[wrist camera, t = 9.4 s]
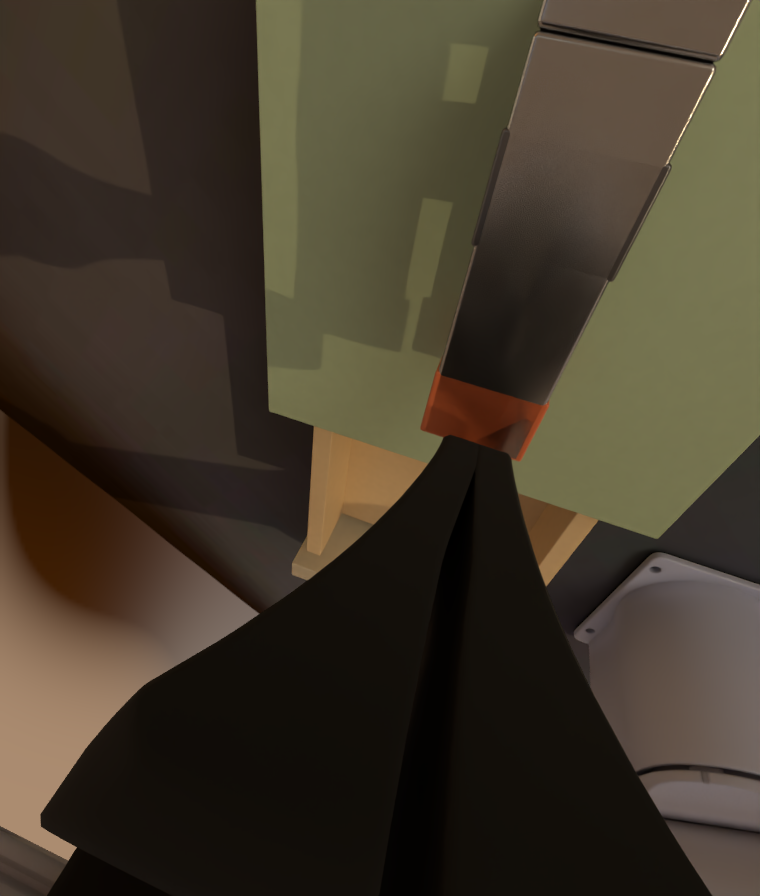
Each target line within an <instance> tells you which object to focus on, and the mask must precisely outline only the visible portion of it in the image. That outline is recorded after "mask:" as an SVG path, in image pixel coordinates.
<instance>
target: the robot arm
mask: <svg viewBox="0 0 760 896" xmlns="http://www.w3.org/2000/svg"><path fill="white" fill-rule="evenodd" d="M574 637H575V638H576V639H577V640H579V641H581V642H584V643H586V644H589V661H590V686H589V684H588V682H587V680H586V678H585V676H584V674H583V671H582V669H581V667H580V665H579V663H578V661H577V659H576V657H575V655H574V653H573V650H572V648H571V646H570V644H569V641H568V639H567V637H566V635H565V632H564V630H563V628H562V626H561V623H560V621H559V619H558V616H557V614H556V611H555V609H554V606H553V604H552V601H551V599H550V596H549V594H548V591H547V588H546V585H545V583H544V580H543V577H542V574H541V572H540V569H539V566H538V563H537V560H536V557H535V554H534V551H533V547H532V544H531V541H530V537H529V534H528V530H527V527H526V524H525V520H524V516H523V513H522V509H521V505H520V500H519V496H518V492H517V487H516V483H515V477H514V472H513V466H512V459H511V457H510V455H509V454H508V453H505V452H502V451H499V450H496V449H493V448H490V447H487V446H484V445H481V444H478V443H475V442H472V441H469V440H466V439H463V438H460V437H456V436H453V435H448V436H445V437H443V440H442V442H441V444H440V446H439V448H438V450H437V451H436V453H435V455H434V456H433V458H432V459H431V460H430V462H429V463H428V465H427V466H426V467H425V469H424V470H423V471H422V473H421V474H420V475H419V476H418V477H417V479H416V480H415V481H414V482H413V483H412V484H411V486H410V487H409V488H408V489H407V490H406V492H405V493H404V494H403V495H402V496H401V497H400V498H399V499H398V500H397V502H396V503H395V504H394V505H393V506H392V507H391V508H390V509H389V510H388V511H387V512H386V513H385V514H384V515H383V516H382V517H381V518H380V519H379V520H378V521H377V522H376V523H375V524H374V525H373V526H372V527H371V528H370V529H368V530H367V531H366V532H365V533H364V534H363V535H362V536H361V537H360V538H359V539H358V540H356V541H355V542H354V543H353V544H352V545H351V546H350V547H348V548H347V549H346V550H345V551H344V552H343V553H341V554H340V555H339V556H338V557H337V558H335V559H334V560H333V561H332V562H330V563H329V564H328V565H327V566H325V567H324V568H323V569H321V570H320V571H319V572H318V573H316V574H315V575H314V576H313V577H311V578H310V579H309V580H307V581H306V582H305V583H303V584H302V585H301V586H299V587H298V588H297V589H295V590H294V591H293V592H291V593H290V594H288V595H287V596H286V597H284V598H283V599H281V600H280V601H278V602H277V603H275V604H274V605H272V606H271V607H269V608H268V609H266V610H265V611H263V612H262V613H260V614H259V615H257V616H256V617H254V618H253V619H252V620H250V621H249V622H247V623H246V624H244V625H243V626H241V627H240V628H238V629H237V630H235V631H234V632H232V633H230V634H229V635H227V636H226V637H224V638H222V639H221V640H219V641H218V642H216V643H214V644H213V645H211V646H209V647H207V648H206V649H204V650H202V651H201V652H199V653H197V654H196V655H194V656H192V657H191V658H189V659H187V660H186V661H184V662H182V663H180V664H179V665H177V666H175V667H174V668H172V669H170V670H168V671H167V672H165V673H163V674H162V675H160V676H158V677H156V678H155V679H153V680H151V681H150V682H148V683H147V684H146V685H144V686H143V687H142V688H141V689H139V690H138V691H137V693H135V694H134V695H133V696H132V697H131V698H130V699H129V700H128V702H127V703H126V704H125V705H124V706H123V707H122V708H121V709H120V710H119V711H118V712H117V713H116V714H115V715H114V716H113V717H112V718H111V720H110V721H109V722H108V723H107V724H106V725H105V726H104V727H103V729H102V730H101V731H100V732H99V733H98V735H97V736H96V737H95V738H94V739H93V741H92V742H91V743H90V744H89V745H88V747H87V748H86V749H85V751H84V752H83V754H82V755H81V757H80V758H79V759H78V761H77V762H76V764H75V765H74V766H73V768H72V769H71V771H70V772H69V774H68V775H67V777H66V778H65V780H64V781H63V782H62V784H61V785H60V787H59V788H58V790H57V791H56V793H55V794H54V796H53V797H52V798H51V800H50V801H49V803H48V804H47V806H46V807H45V809H44V810H43V812H42V813H41V827H43V828H44V829H46V830H47V831H49V832H51V833H52V834H54V835H56V836H58V837H59V838H61V839H63V840H65V841H67V842H69V843H71V844H72V845H74V846H76V847H77V848H76V850H75V851H74V853H73V854H72V856H71V858H70V859H69V861H68V860H66V859H64V858H62V857H60V856H58V855H56V854H54V853H52V852H50V851H48V850H46V849H44V848H42V847H40V846H38V845H36V844H34V843H32V842H30V841H28V840H26V839H24V838H22V837H20V836H18V835H16V834H15V833H13V832H11V831H9V830H7V829H5V828H3V827H1V826H0V896H760V585H759V584H756V583H753V582H750V581H747V580H744V579H741V578H738V577H735V576H732V575H729V574H726V573H723V572H720V571H717V570H714V569H711V568H708V567H705V566H702V565H699V564H696V563H693V562H690V561H687V560H684V559H681V558H678V557H675V556H672V555H669V554H666V553H662V552H657V553H653V554H651V555H650V556H649V557H648V558H647V559H646V560H645V561H644V562H643V563H642V564H641V565H640V566H639V567H638V568H637V569H636V570H635V571H634V572H633V573H632V574H631V575H630V576H629V577H628V578H627V579H626V580H625V581H624V582H623V583H622V584H621V585H619V586H618V587H617V588H616V589H615V590H614V591H613V592H612V593H611V594H610V595H609V596H608V597H607V598H606V599H605V600H604V601H603V602H602V603H601V604H600V605H599V606H598V607H597V608H596V609H595V610H594V611H593V612H592V613H591V614H590V615H589V616H588V617H587V618H586V619H585V620H584V621H583V622H582V623H581V624H580V625H579V626H578V627H577V628H576V629H575V631H574ZM590 687H591V688H590Z"/></svg>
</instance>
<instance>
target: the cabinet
mask: <svg viewBox="0 0 760 896" xmlns="http://www.w3.org/2000/svg"><path fill="white" fill-rule="evenodd" d="M541 3H542V0H256V23H257V55H258V86H259V118H260V149H261V181H262V212H263V244H264V275H265V307H266V338H267V370H268V401H269V411H270V412H273V413H276V414H279V415H282V416H285V417H288V418H291V419H294V420H297V421H300V422H303V423H306V424H309V425H312V426H316V427H319V428H322V429H325V430H328V431H331V432H334V433H337V434H340V435H343V436H346V437H349V438H352V439H355V440H358V441H361V442H364V443H367V444H370V445H373V446H376V447H379V448H382V449H385V450H388V451H391V452H394V453H397V454H400V455H403V456H406V457H409V458H412V459H416V460H419V461H422V462H425V463H429V462H430V460H431V459H432V458H433V456H434V455H435V453H436V451H437V450H438V448H439V446H440V444H441V442H442V440H443V437H440V436H437V435H434V434H431V433H428V432H425V431H422V430H421V429H420V426H421V423H422V419H423V415H424V412H425V408H426V405H427V401H428V397H429V394H430V390H431V386H432V383H433V379H434V376H435V372H436V370H437V367H438V365H439V362H440V360H441V358H442V356H443V353H444V349H445V346H446V342H447V338H448V335H449V331H450V328H451V324H452V321H453V317H454V314H455V310H456V306H457V303H458V299H459V296H460V292H461V289H462V285H463V281H464V278H465V274H466V271H467V267H468V264H469V260H470V256H471V253H472V249H473V246H472V245H471V241H472V237H473V234H474V230H475V226H476V223H477V219H478V216H479V212H480V208H481V205H482V201H483V197H484V194H485V190H486V186H487V183H488V179H489V176H490V172H491V168H492V165H493V161H494V157H495V154H496V150H497V147H498V143H499V139H500V136H501V132H502V130H503V128H504V127H505V126H506V125H507V124H508V121H509V117H510V114H511V110H512V106H513V103H514V99H515V96H516V92H517V89H518V85H519V81H520V78H521V74H522V71H523V67H524V64H525V60H526V57H527V53H528V49H529V46H530V42H531V39H532V36H533V34H534V33H535V31H538V30H540V29H539V28H538V27H537V17H538V14H539V10H540V7H541ZM714 64H715V65H716V66H717V70H716V74H715V76H714V78H713V80H712V82H711V84H710V86H709V88H708V89H707V91H706V93H705V95H704V97H703V99H702V101H701V103H700V105H699V107H698V109H697V111H696V113H695V115H694V117H693V119H692V121H691V123H690V125H689V127H688V129H687V131H686V133H685V135H684V137H683V139H682V140H681V142H680V144H679V146H678V148H677V150H676V152H675V154H674V156H673V158H672V160H671V162H670V164H671V165H672V169H671V171H670V173H669V175H668V177H667V179H666V181H665V183H664V185H663V187H662V189H661V191H660V193H659V195H658V197H657V198H656V200H655V202H654V204H653V206H652V208H651V210H650V212H649V214H648V216H647V218H646V220H645V222H644V224H643V226H642V228H641V229H640V231H639V233H638V235H637V237H636V239H635V241H634V243H633V245H632V247H631V249H630V251H629V253H628V255H627V257H626V259H625V260H624V262H623V264H622V266H621V268H620V270H619V272H618V274H617V276H616V278H615V280H614V281H613V282H609V284H608V286H607V288H606V290H605V292H604V294H603V295H602V297H601V299H600V301H599V303H598V305H597V307H596V309H595V311H594V313H593V315H592V317H591V319H590V321H589V323H588V325H587V327H586V329H585V331H584V333H583V335H582V337H581V339H580V341H579V343H578V345H577V346H576V348H575V350H574V352H573V354H572V356H571V358H570V360H569V362H568V364H567V366H566V368H565V370H564V372H563V374H562V376H561V378H560V380H559V382H558V384H557V386H556V388H555V390H554V392H553V394H552V396H551V397H550V401H549V408H548V410H547V411H546V413H545V415H544V417H543V419H542V421H541V423H540V425H539V427H538V429H537V431H536V433H535V435H534V437H533V439H532V441H531V442H530V444H529V446H528V448H527V450H526V452H525V454H524V456H523V458H522V460H521V461H515V460H512V466H513V472H514V477H515V483H516V487H517V492H518V493H519V494H522V495H525V496H528V497H531V498H534V499H537V500H540V501H543V502H546V503H549V504H552V505H555V506H558V507H561V508H564V509H567V510H570V511H573V512H576V513H579V514H582V515H585V516H588V517H591V518H594V519H597V520H600V521H603V522H606V523H609V524H613V525H616V526H619V527H622V528H625V529H628V530H631V531H634V532H637V533H640V534H643V535H646V536H649V537H652V538H655V539H658V538H659V537H660V536H661V535H662V534H663V533H664V532H665V531H666V530H667V529H668V528H669V527H670V526H671V525H672V524H673V523H674V522H675V521H676V520H677V519H678V518H679V517H680V516H681V515H682V514H683V513H684V512H685V511H686V510H687V509H688V508H689V506H690V505H691V504H692V503H693V502H694V501H695V500H696V499H697V498H698V497H699V496H700V495H701V494H702V493H703V492H704V491H705V490H706V489H707V488H708V487H709V486H710V485H711V484H712V483H713V482H714V481H715V480H716V479H717V478H718V477H719V476H720V475H721V474H722V473H723V472H724V471H725V470H726V469H727V468H728V467H729V466H730V465H731V464H732V463H733V462H734V461H735V460H736V459H737V458H738V457H739V456H740V455H741V454H742V453H743V452H744V451H745V450H746V449H747V447H748V446H749V445H750V444H751V443H752V442H753V441H754V440H755V439H756V438H757V437H758V436H759V435H760V0H753V1H752V3H751V5H750V7H749V9H748V11H747V13H746V15H745V17H744V18H743V20H742V22H741V24H740V26H739V28H738V30H737V32H736V34H735V36H734V38H733V40H732V42H731V44H730V46H729V48H728V50H727V52H726V54H725V55H724V56H723V58H722V59H721V60H720V61H718V62H714Z"/></svg>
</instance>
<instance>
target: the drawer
mask: <svg viewBox="0 0 760 896" xmlns="http://www.w3.org/2000/svg"><path fill="white" fill-rule="evenodd" d="M427 465H428V463H425V462H422V461H419V460H416V459H412V458H409V457H406V456H403V455H400V454H397V453H394V452H391V451H388V450H385V449H382V448H379V447H376V446H373V445H370V444H367V443H364V442H361V441H358V440H355V439H352V438H349V437H346V436H343V435H340V434H337V433H334V432H331V431H328V430H325V429H322V428H319V427H316V426H314V431H313V448H312V465H311V482H310V499H309V516H308V533H307V537H306V539H305V540H304V542H303V544H302V546H301V548H300V549H299V551H298V553H297V555H296V557H295V559H294V560H293V562H292V575H295V576H297V577H300V578H303V579H305V580H309V579H310V578H311V577H313V576H314V575H315V574H316V573H318V572H319V571H320V570H321V569H323V568H324V567H325V566H327V565H328V564H329V563H330V562H332V561H333V560H334V559H335V558H337V557H338V556H339V555H340V554H341V553H343V552H344V551H345V550H346V549H347V548H348V547H350V546H351V545H352V544H353V543H354V542H355V541H356V540H358V539H359V538H360V537H361V536H362V535H363V534H364V533H365V532H366V531H367V530H368V529H370V528H371V527H372V526H373V525H374V524H375V523H376V522H377V521H378V520H379V519H380V518H381V517H382V516H383V515H384V514H385V513H386V512H387V511H388V510H389V509H390V508H391V507H392V506H393V505H394V504H395V503H396V502H397V500H398V499H399V498H400V497H401V496H402V495H403V494H404V493H405V492H406V490H407V489H408V488H409V487H410V486H411V484H412V483H413V482H414V481H415V480H416V479H417V477H418V476H419V475H420V474H421V473H422V471H423V470H424V469H425V467H426V466H427ZM518 496H519V500H520V505H521V509H522V513H523V516H524V520H525V524H526V527H527V530H528V534H529V537H530V541H531V544H532V547H533V551H534V554H535V557H536V560H537V563H538V566H539V569H540V572H541V574H542V577H543V580H544V583H545V585H546V586H547V585H548V584H549V582H550V581H551V580H552V579H553V577H554V576H555V575H556V573H557V572H558V571H559V570H560V568H561V567H562V566H563V565H564V563H565V562H566V561H567V559H568V558H569V557H570V556H571V554H572V553H573V552H574V551H575V549H576V548H577V547H578V546H579V544H580V543H581V542H582V540H583V539H584V538H585V537H586V535H587V534H588V533H589V532H590V530H591V529H592V528H593V526H594V525H595V524H596V523H597V521H598V520H597V519H594V518H591V517H588V516H585V515H582V514H579V513H576V512H573V511H570V510H567V509H564V508H561V507H558V506H555V505H552V504H549V503H546V502H543V501H540V500H537V499H534V498H531V497H528V496H525V495H522V494H519V493H518Z"/></svg>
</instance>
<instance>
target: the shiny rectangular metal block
mask: <svg viewBox="0 0 760 896" xmlns="http://www.w3.org/2000/svg"><path fill="white" fill-rule="evenodd" d="M752 1H753V0H542V3H541V7H540V10H539V14H538V17H537V27H538V28H539V29H540V30H538V31H535V33H534V34H533V36H532V39H531V42H530V46H529V49H528V53H527V57H526V60H525V64H524V67H523V71H522V74H521V78H520V81H519V85H518V89H517V92H516V96H515V99H514V103H513V106H512V110H511V114H510V117H509V121H508V124H507V125H506V126H505V127H504V128H503V130H502V132H501V136H500V139H499V143H498V147H497V150H496V154H495V157H494V161H493V165H492V168H491V172H490V176H489V179H488V183H487V186H486V190H485V194H484V197H483V201H482V205H481V208H480V212H479V216H478V219H477V223H476V226H475V230H474V234H473V237H472V241H471V245H472V246H473V249H472V253H471V256H470V260H469V264H468V267H467V271H466V274H465V278H464V281H463V285H462V289H461V292H460V296H459V299H458V303H457V306H456V310H455V314H454V317H453V321H452V324H451V328H450V331H449V335H448V338H447V342H446V346H445V349H444V353H443V356H442V358H441V360H440V362H439V365H438V367H437V370H436V372H435V376H434V379H433V383H432V386H431V390H430V394H429V397H428V401H427V405H426V408H425V412H424V415H423V419H422V423H421V426H420V429H421V430H422V431H425V432H428V433H431V434H434V435H437V436H440V437H445V436H448V435H453V436H456V437H460V438H463V439H466V440H469V441H472V442H475V443H478V444H481V445H484V446H487V447H490V448H493V449H496V450H499V451H502V452H505V453H508V454H509V455H510V457H511V459H512V460H515V461H521V460H522V458H523V456H524V454H525V452H526V450H527V448H528V446H529V444H530V442H531V441H532V439H533V437H534V435H535V433H536V431H537V429H538V427H539V425H540V423H541V421H542V419H543V417H544V415H545V413H546V411H547V410H548V408H549V401H550V397H551V396H552V394H553V392H554V390H555V388H556V386H557V384H558V382H559V380H560V378H561V376H562V374H563V372H564V370H565V368H566V366H567V364H568V362H569V360H570V358H571V356H572V354H573V352H574V350H575V348H576V346H577V345H578V343H579V341H580V339H581V337H582V335H583V333H584V331H585V329H586V327H587V325H588V323H589V321H590V319H591V317H592V315H593V313H594V311H595V309H596V307H597V305H598V303H599V301H600V299H601V297H602V295H603V294H604V292H605V290H606V288H607V286H608V284H609V282H613V281H614V280H615V278H616V276H617V274H618V272H619V270H620V268H621V266H622V264H623V262H624V260H625V259H626V257H627V255H628V253H629V251H630V249H631V247H632V245H633V243H634V241H635V239H636V237H637V235H638V233H639V231H640V229H641V228H642V226H643V224H644V222H645V220H646V218H647V216H648V214H649V212H650V210H651V208H652V206H653V204H654V202H655V200H656V198H657V197H658V195H659V193H660V191H661V189H662V187H663V185H664V183H665V181H666V179H667V177H668V175H669V173H670V171H671V169H672V165H671V164H670V162H671V160H672V158H673V156H674V154H675V152H676V150H677V148H678V146H679V144H680V142H681V140H682V139H683V137H684V135H685V133H686V131H687V129H688V127H689V125H690V123H691V121H692V119H693V117H694V115H695V113H696V111H697V109H698V107H699V105H700V103H701V101H702V99H703V97H704V95H705V93H706V91H707V89H708V88H709V86H710V84H711V82H712V80H713V78H714V76H715V74H716V70H717V66H716V65H715V64H714V62H718V61H720V60H721V59H722V58H723V56H724V55H725V54H726V52H727V50H728V48H729V46H730V44H731V42H732V40H733V38H734V36H735V34H736V32H737V30H738V28H739V26H740V24H741V22H742V20H743V18H744V17H745V15H746V13H747V11H748V9H749V7H750V5H751V3H752Z"/></svg>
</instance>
